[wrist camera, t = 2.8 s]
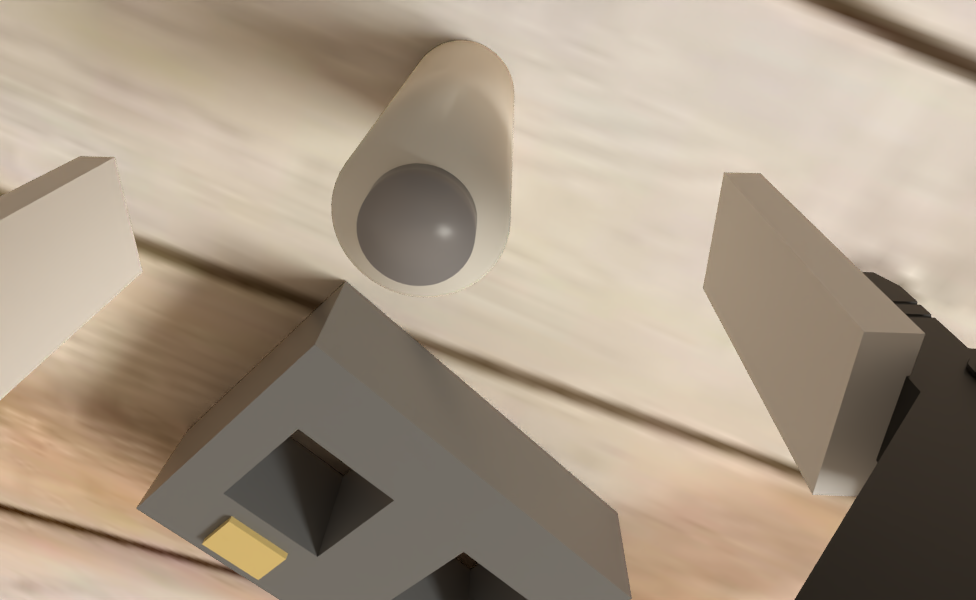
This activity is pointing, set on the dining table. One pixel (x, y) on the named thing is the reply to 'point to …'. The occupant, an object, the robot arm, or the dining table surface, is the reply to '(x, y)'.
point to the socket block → (381, 480)
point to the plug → (433, 177)
